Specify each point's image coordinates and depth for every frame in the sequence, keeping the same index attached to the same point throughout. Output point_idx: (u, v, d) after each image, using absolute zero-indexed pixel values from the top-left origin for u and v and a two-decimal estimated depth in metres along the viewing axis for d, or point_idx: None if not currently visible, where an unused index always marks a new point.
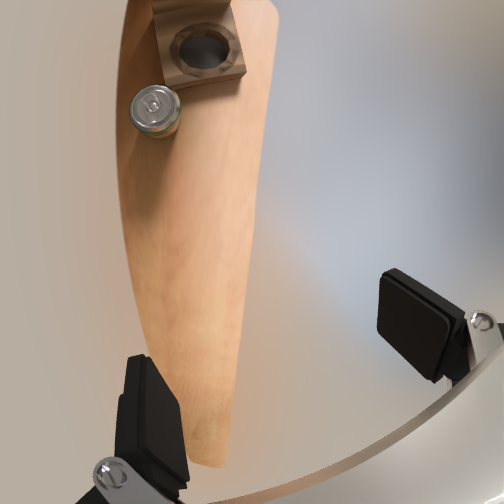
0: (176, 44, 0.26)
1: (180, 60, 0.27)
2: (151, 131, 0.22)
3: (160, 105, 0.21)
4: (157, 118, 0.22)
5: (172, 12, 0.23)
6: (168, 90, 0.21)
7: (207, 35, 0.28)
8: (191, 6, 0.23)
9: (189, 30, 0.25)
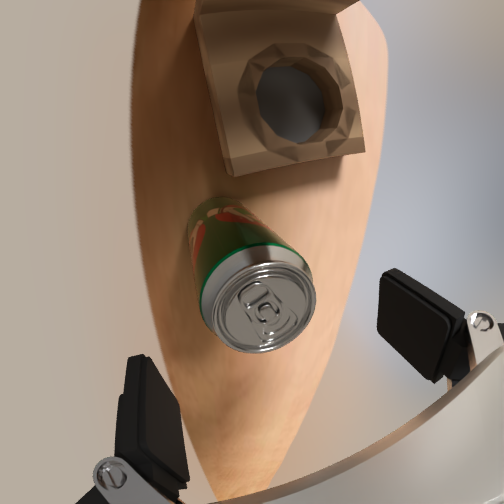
0: (251, 83, 0.15)
1: (260, 120, 0.16)
2: None
3: (281, 308, 0.11)
4: (271, 332, 0.11)
5: (238, 13, 0.13)
6: (301, 274, 0.10)
7: (295, 66, 0.17)
8: (274, 8, 0.13)
9: (274, 55, 0.15)
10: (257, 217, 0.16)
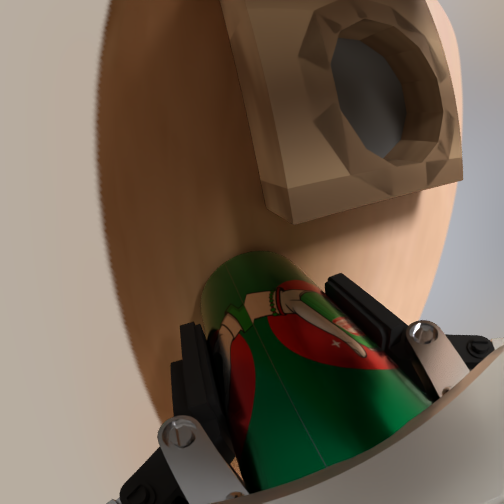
0: (322, 49, 0.07)
1: (340, 117, 0.08)
2: None
3: None
4: None
5: None
6: None
7: (369, 41, 0.09)
8: None
9: (353, 13, 0.07)
10: (341, 309, 0.08)
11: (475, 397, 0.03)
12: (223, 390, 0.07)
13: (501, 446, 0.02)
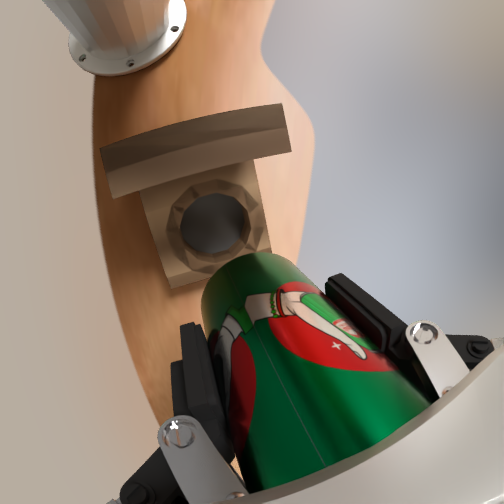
0: (175, 224, 0.24)
1: (184, 250, 0.25)
2: None
3: None
4: None
5: None
6: None
7: None
8: None
9: (191, 197, 0.23)
10: None
11: (475, 397, 0.03)
12: (224, 391, 0.07)
13: (501, 446, 0.02)
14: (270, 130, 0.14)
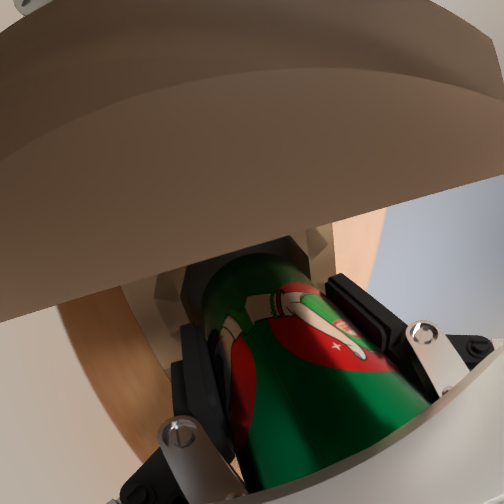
0: (172, 287, 0.12)
1: None
2: None
3: None
4: None
5: None
6: None
7: None
8: None
9: None
10: (341, 311, 0.08)
11: (475, 397, 0.03)
12: (224, 392, 0.07)
13: (501, 446, 0.02)
14: (491, 99, 0.03)
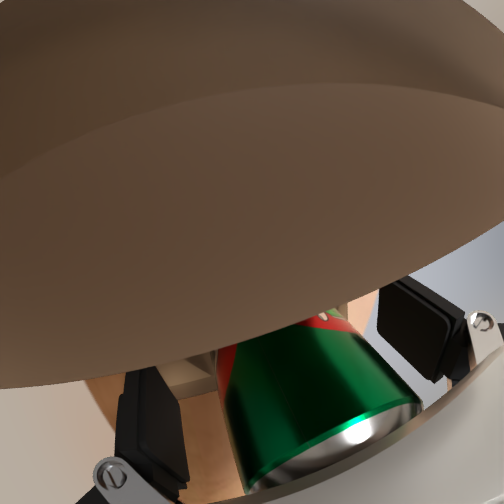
0: None
1: None
2: None
3: None
4: None
5: None
6: None
7: None
8: None
9: None
10: None
11: (475, 397, 0.03)
12: (213, 351, 0.08)
13: (501, 446, 0.02)
14: None
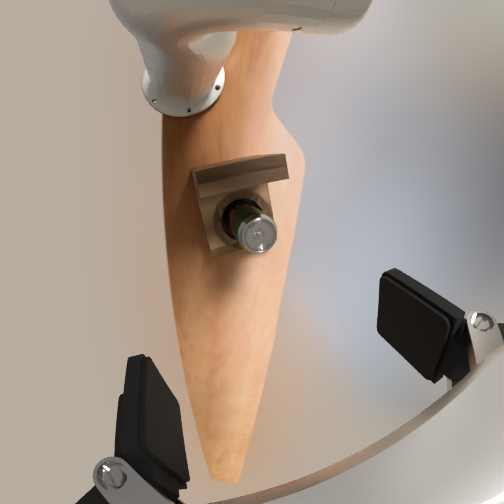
0: (218, 216, 0.40)
1: (223, 232, 0.41)
2: None
3: (264, 235, 0.32)
4: (261, 245, 0.33)
5: None
6: (271, 223, 0.32)
7: None
8: None
9: (229, 199, 0.39)
10: None
11: (475, 397, 0.03)
12: (230, 220, 0.37)
13: (501, 446, 0.02)
14: (278, 167, 0.30)
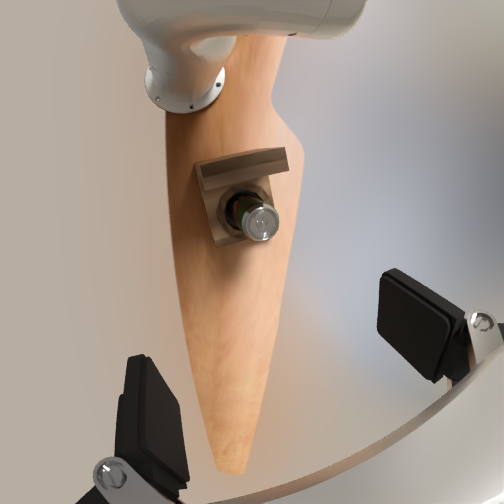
0: (221, 208, 0.41)
1: (226, 223, 0.42)
2: (258, 240, 0.35)
3: (267, 223, 0.34)
4: (264, 233, 0.34)
5: None
6: (273, 212, 0.34)
7: None
8: None
9: (231, 192, 0.41)
10: None
11: (475, 397, 0.03)
12: (234, 210, 0.38)
13: (501, 446, 0.02)
14: (279, 160, 0.32)
